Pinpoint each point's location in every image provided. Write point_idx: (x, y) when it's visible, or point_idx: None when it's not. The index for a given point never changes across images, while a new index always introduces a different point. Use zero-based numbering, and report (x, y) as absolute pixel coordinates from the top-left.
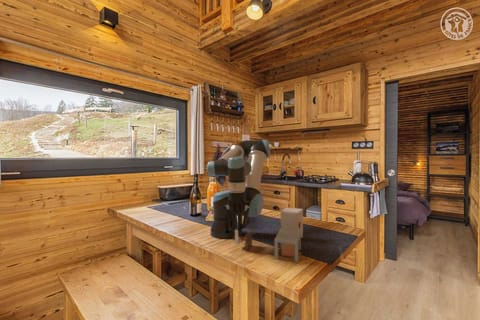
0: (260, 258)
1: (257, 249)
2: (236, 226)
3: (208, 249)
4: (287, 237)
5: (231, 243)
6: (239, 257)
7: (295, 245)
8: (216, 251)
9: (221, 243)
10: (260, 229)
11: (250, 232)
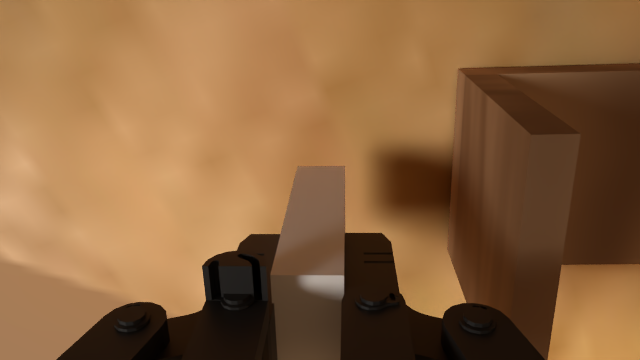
0: (629, 281)
1: (595, 181)
2: (265, 328)
3: (15, 261)
4: None
5: (158, 14)
6: None
7: None
8: (123, 276)
9: (36, 62)
10: None
11: (564, 222)
